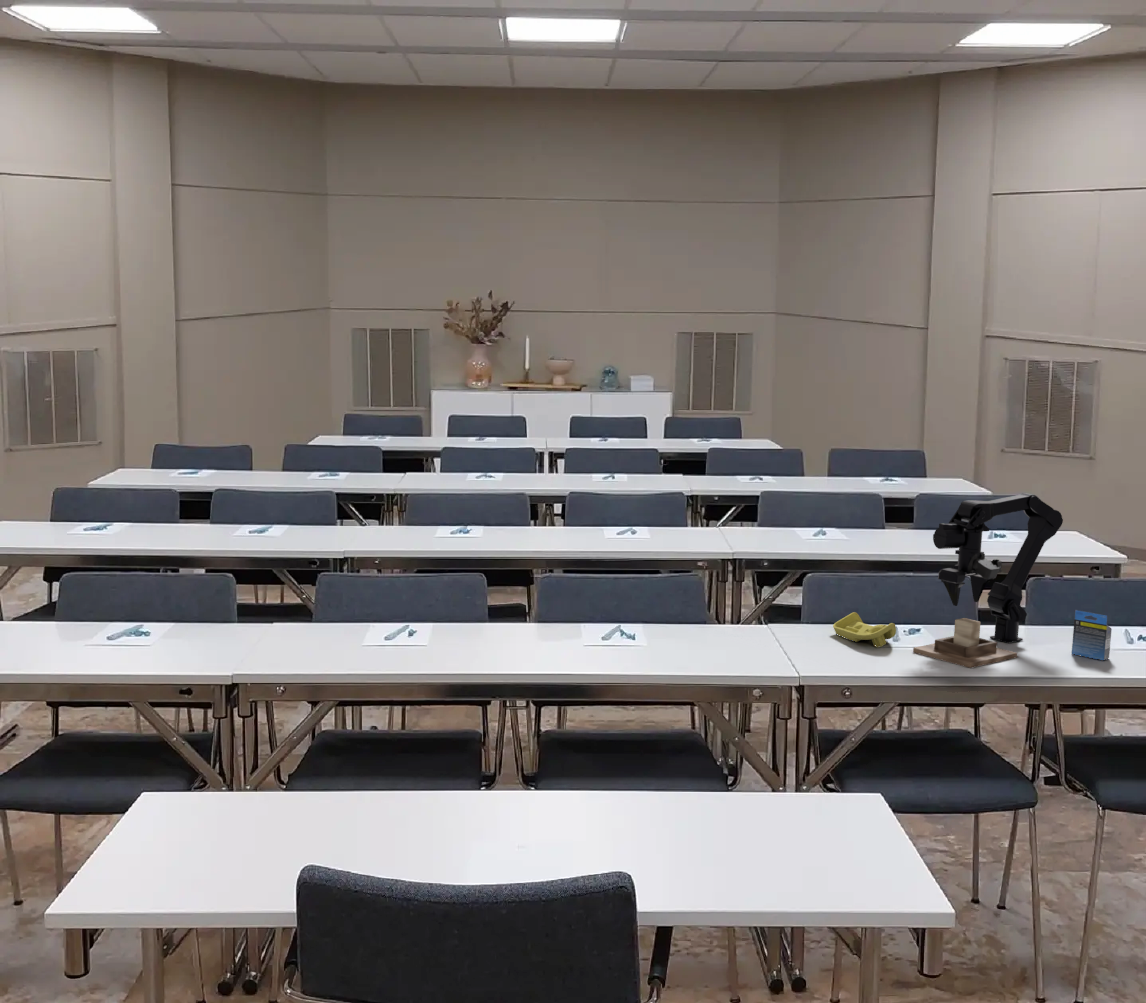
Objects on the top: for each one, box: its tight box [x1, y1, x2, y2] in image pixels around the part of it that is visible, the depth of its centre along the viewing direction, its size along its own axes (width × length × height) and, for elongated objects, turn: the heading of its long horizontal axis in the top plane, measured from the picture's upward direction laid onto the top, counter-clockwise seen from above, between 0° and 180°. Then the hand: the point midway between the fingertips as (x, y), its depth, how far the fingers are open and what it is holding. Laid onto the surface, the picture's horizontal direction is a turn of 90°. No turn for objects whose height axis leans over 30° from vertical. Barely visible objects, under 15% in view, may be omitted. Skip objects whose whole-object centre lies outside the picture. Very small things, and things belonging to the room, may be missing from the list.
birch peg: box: [953, 617, 981, 647], centre depth 338 cm, size 4×5×8 cm
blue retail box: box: [1071, 609, 1112, 661], centre depth 340 cm, size 9×4×12 cm, turn 45°
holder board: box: [912, 635, 1018, 669], centre depth 339 cm, size 20×18×4 cm
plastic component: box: [832, 611, 897, 648], centre depth 350 cm, size 20×7×10 cm
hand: (965, 603), depth 350 cm, fingers open, 9 cm apart
